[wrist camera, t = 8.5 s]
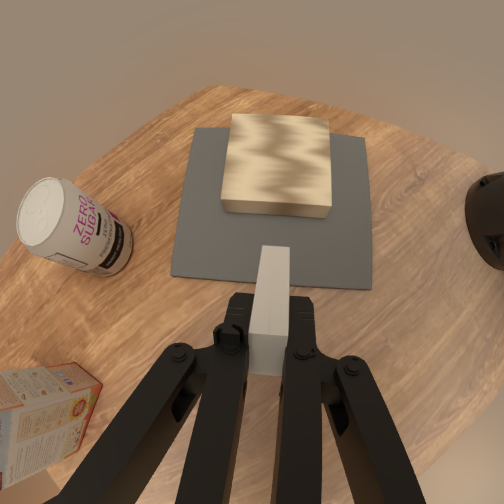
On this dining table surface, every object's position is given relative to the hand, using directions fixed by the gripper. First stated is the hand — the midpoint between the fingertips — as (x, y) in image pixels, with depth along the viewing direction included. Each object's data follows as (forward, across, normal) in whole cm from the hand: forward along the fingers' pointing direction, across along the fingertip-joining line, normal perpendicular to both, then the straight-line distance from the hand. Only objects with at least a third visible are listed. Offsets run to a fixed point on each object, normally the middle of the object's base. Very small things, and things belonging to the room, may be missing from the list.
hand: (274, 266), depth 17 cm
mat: (+21, 0, -4) cm, 21 cm away
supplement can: (+16, -22, -10) cm, 29 cm away
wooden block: (+17, 0, -4) cm, 17 cm away
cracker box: (-1, -26, -27) cm, 38 cm away
